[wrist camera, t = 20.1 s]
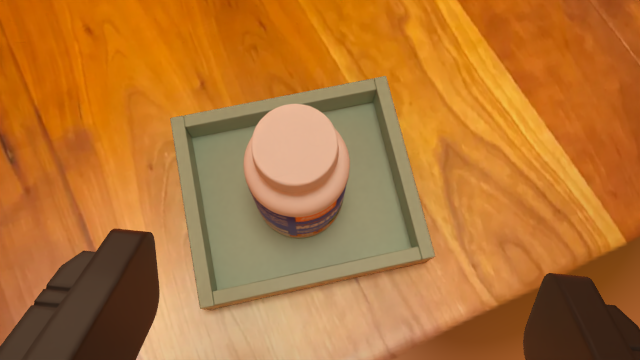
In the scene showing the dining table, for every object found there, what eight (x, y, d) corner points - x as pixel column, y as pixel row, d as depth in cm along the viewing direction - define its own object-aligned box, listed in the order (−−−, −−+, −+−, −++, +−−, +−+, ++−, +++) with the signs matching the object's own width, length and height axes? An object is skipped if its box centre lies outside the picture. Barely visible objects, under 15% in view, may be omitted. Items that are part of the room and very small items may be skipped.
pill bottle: (306, 257, 33) (303, 228, 23) (238, 202, 33) (209, 153, 24) (360, 189, 34) (379, 136, 24) (294, 138, 35) (287, 68, 25)
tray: (381, 92, 36) (386, 75, 34) (426, 261, 33) (435, 256, 31) (179, 132, 35) (170, 117, 33) (208, 310, 32) (199, 308, 30)
